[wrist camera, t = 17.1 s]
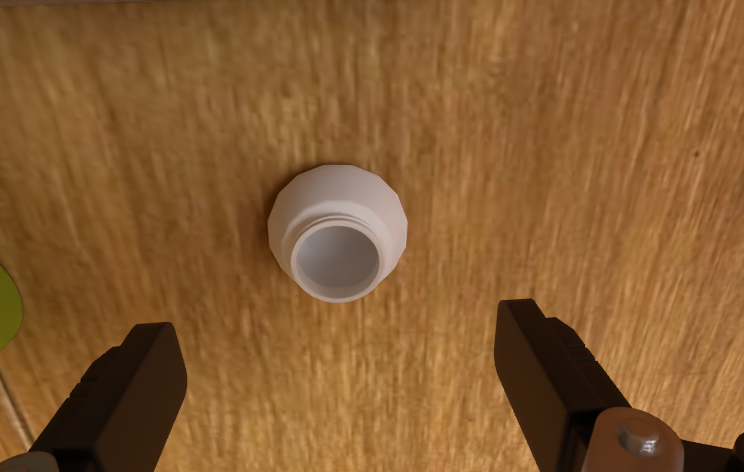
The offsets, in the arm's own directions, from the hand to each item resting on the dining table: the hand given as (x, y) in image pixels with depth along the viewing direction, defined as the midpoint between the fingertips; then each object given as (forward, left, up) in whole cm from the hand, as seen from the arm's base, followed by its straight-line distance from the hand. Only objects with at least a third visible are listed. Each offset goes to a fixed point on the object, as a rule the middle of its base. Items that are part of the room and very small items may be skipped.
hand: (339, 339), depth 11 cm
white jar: (0, 0, -7) cm, 7 cm away
